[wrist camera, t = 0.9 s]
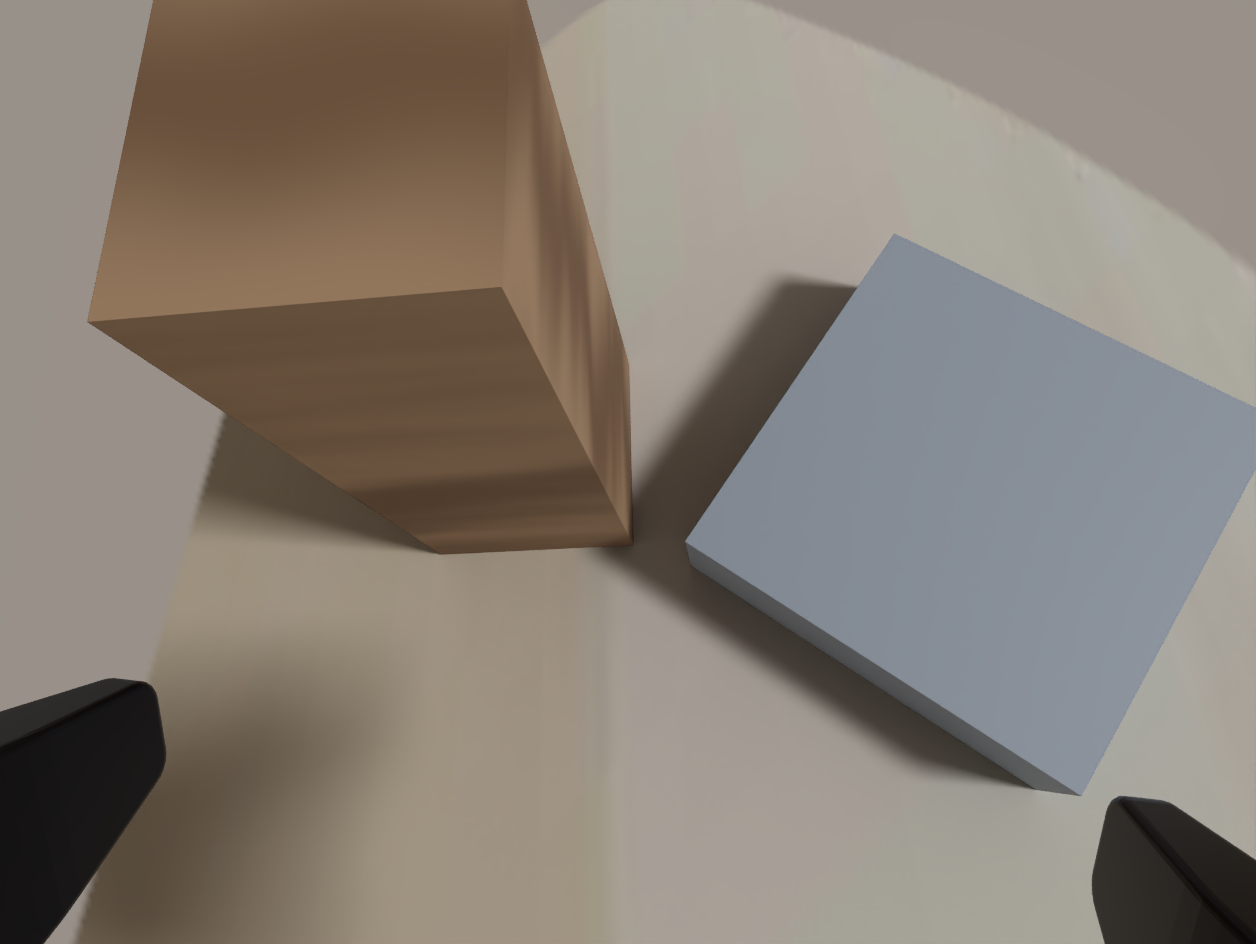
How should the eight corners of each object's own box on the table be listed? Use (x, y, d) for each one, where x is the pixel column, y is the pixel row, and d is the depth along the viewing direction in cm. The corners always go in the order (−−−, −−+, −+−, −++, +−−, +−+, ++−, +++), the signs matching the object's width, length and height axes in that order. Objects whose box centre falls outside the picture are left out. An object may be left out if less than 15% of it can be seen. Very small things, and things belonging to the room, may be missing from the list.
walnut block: (633, 545, 21) (501, 286, 9) (440, 554, 22) (87, 321, 10) (629, 364, 23) (511, -52, 11) (449, 377, 23) (154, -4, 11)
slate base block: (1028, 788, 19) (1081, 795, 16) (691, 569, 21) (684, 541, 18) (1206, 465, 20) (1281, 420, 18) (874, 297, 23) (894, 233, 20)
